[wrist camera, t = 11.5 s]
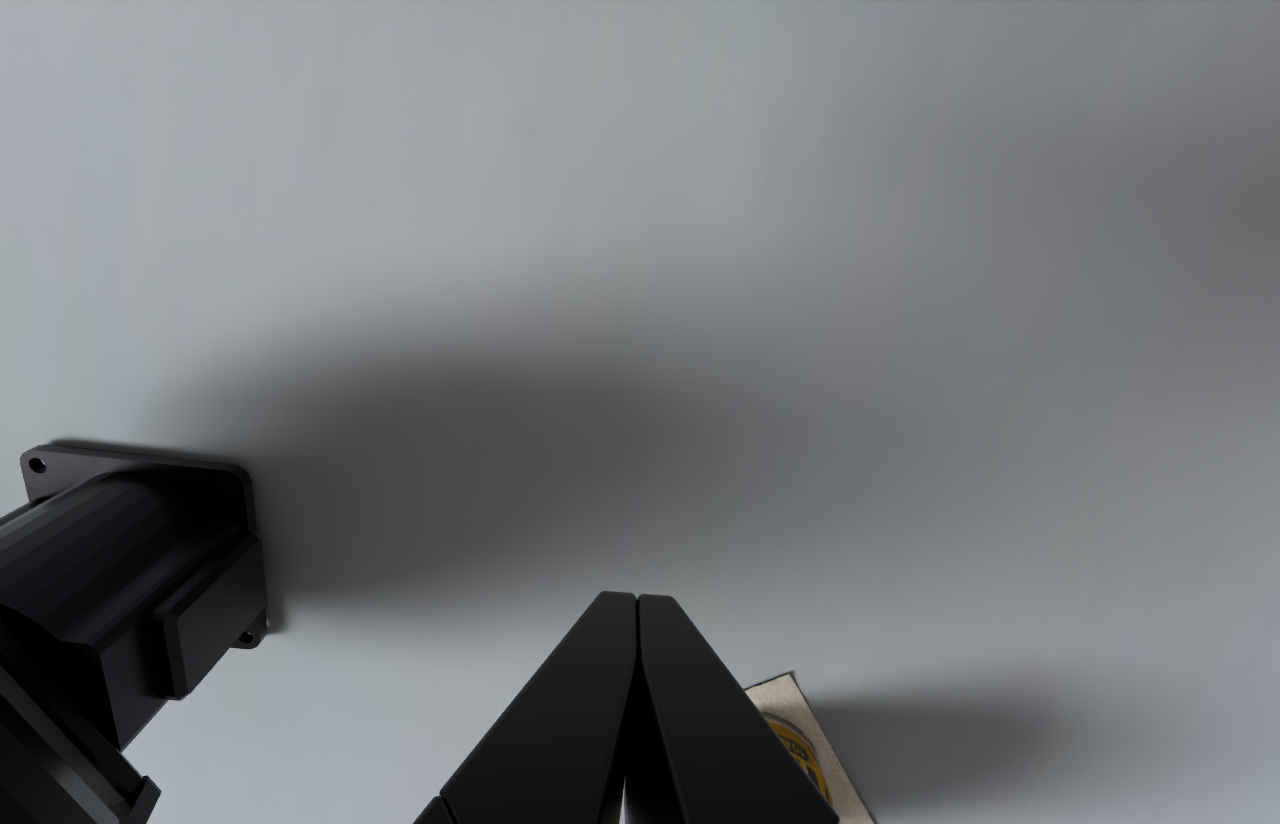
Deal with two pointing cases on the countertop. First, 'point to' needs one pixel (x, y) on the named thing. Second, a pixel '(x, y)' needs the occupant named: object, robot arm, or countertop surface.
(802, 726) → the condiment
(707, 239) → the countertop surface
